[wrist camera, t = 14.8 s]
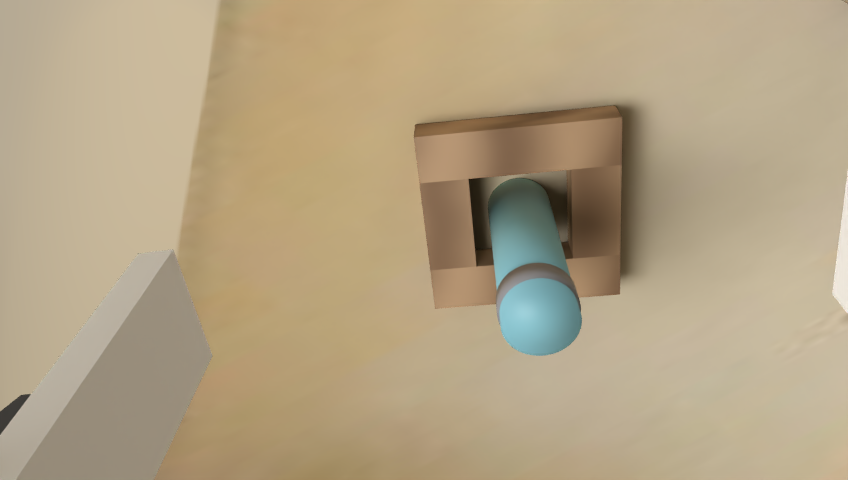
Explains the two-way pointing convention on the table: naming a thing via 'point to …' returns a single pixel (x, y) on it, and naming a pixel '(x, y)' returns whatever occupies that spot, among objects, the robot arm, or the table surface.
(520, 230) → the banded teal cylinder
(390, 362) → the table surface
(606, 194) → the square hole plate
